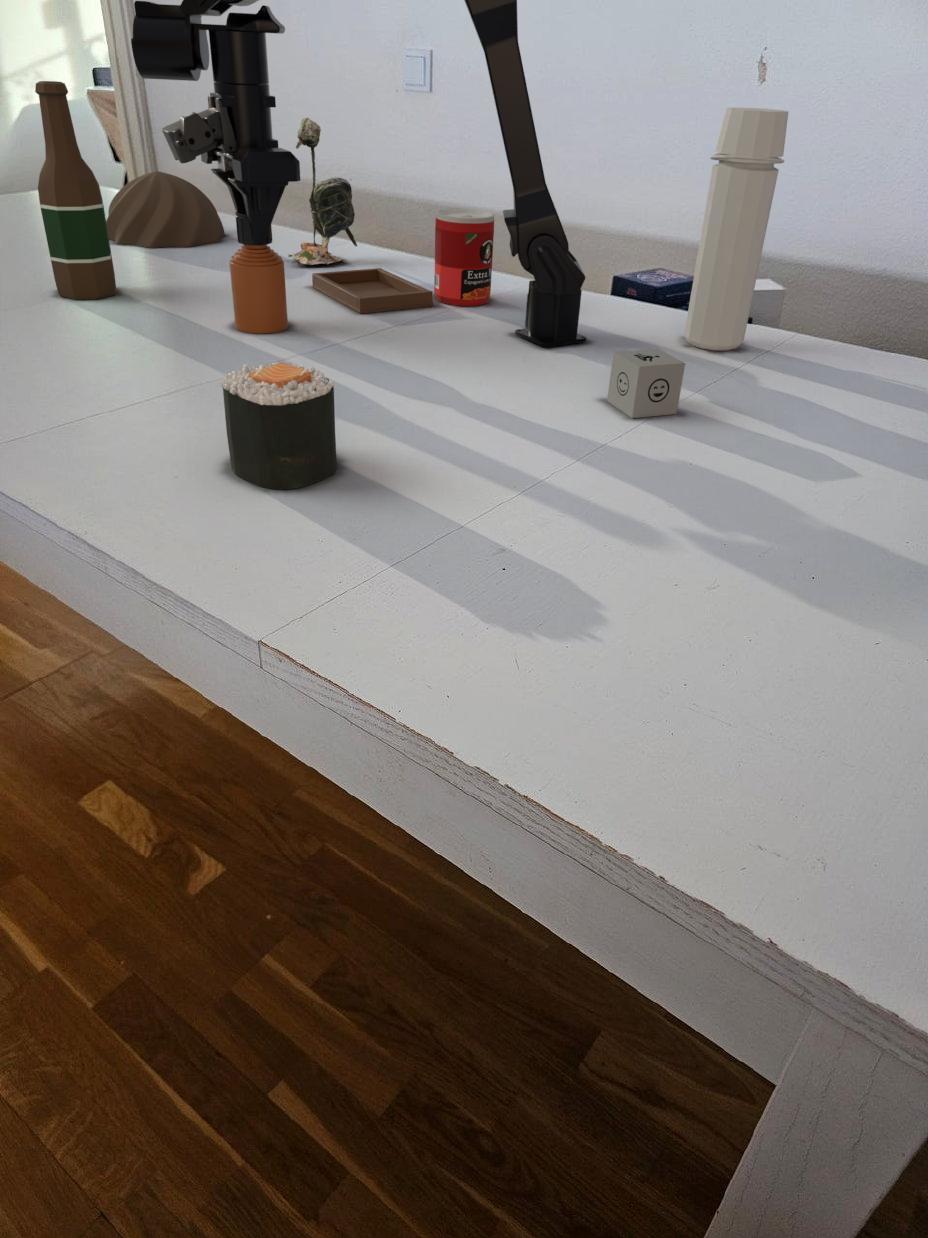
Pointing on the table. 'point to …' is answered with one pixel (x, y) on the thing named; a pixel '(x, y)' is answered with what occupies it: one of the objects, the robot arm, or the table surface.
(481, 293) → the canned food
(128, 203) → the decorative dome
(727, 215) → the water bottle
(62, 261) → the beer bottle
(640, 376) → the dice cube
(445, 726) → the table surface
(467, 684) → the table surface
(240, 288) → the bottle
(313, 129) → the plant with pod
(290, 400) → the sushi
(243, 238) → the cap
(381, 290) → the tray
